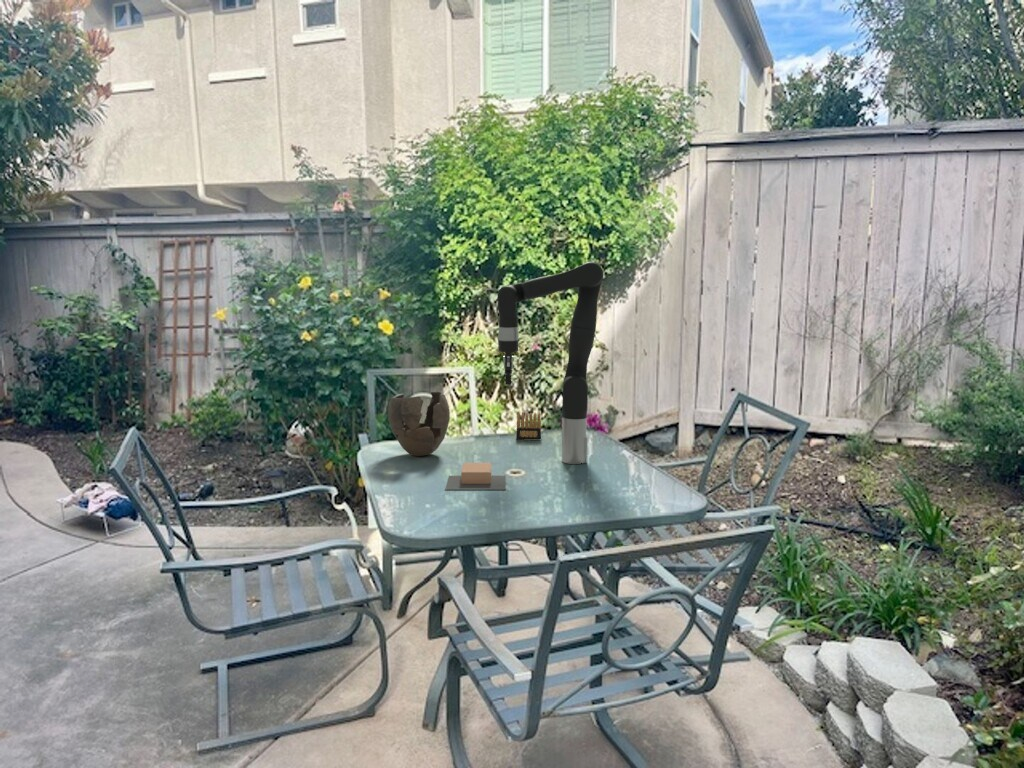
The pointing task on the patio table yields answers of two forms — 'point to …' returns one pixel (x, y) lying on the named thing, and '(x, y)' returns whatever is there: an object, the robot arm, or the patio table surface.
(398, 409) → the clay pot
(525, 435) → the ammunition clip
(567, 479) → the patio table surface
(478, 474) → the peach block
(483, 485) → the charcoal mat
